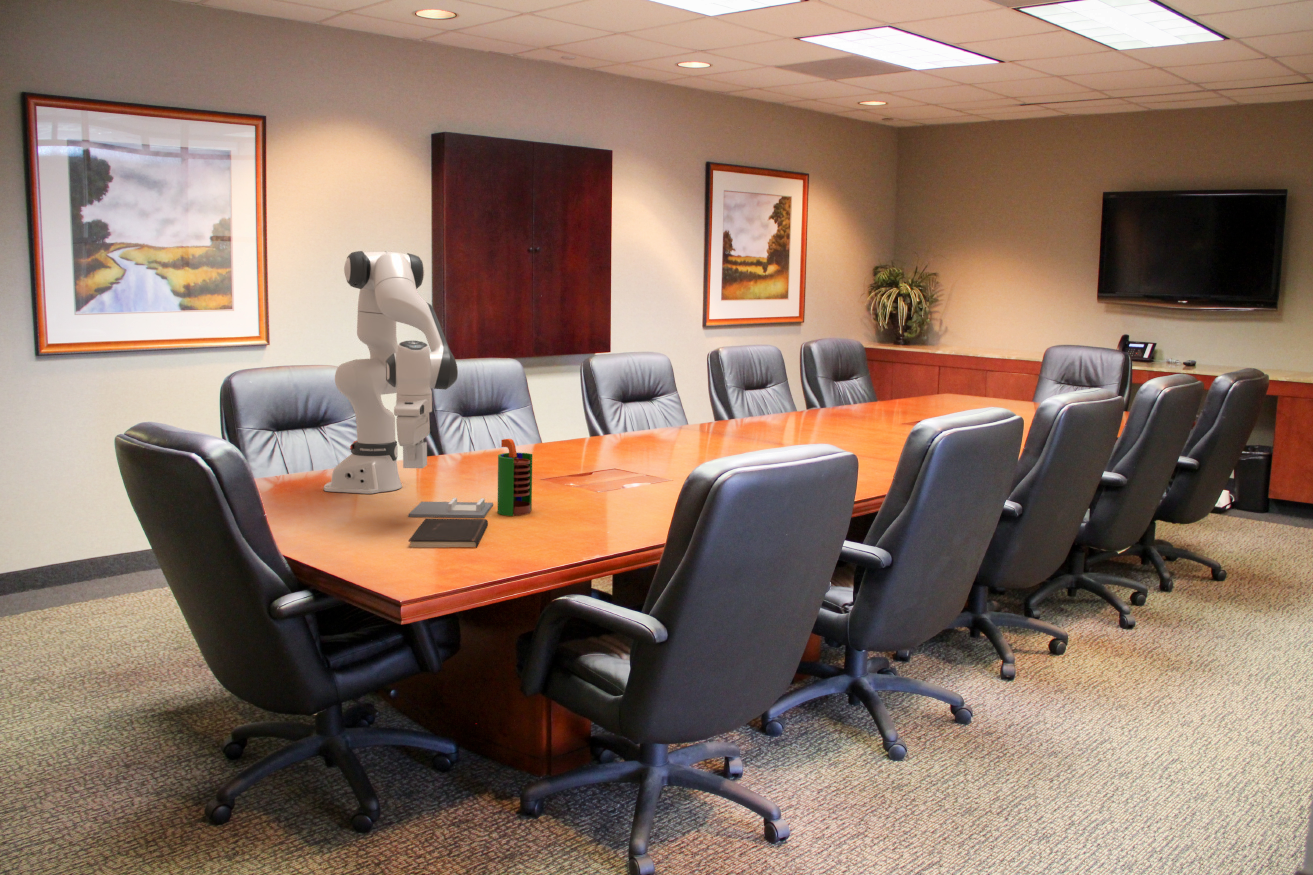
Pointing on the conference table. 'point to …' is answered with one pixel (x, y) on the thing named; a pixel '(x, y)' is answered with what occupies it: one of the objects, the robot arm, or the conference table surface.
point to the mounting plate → (452, 509)
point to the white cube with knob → (420, 456)
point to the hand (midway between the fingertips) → (415, 458)
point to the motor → (514, 481)
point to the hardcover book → (449, 533)
